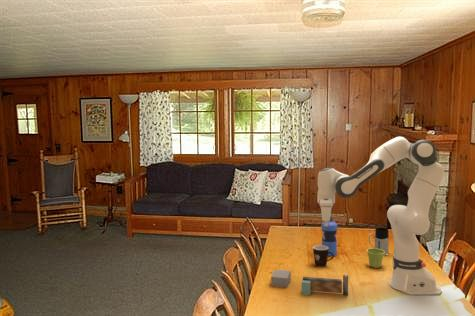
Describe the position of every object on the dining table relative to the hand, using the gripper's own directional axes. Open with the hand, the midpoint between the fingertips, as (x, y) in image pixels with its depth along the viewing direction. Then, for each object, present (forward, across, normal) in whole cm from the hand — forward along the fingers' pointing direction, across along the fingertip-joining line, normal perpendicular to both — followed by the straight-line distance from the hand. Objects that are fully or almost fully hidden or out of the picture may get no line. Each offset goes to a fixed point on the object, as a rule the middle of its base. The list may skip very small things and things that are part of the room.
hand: (326, 225), depth 198 cm
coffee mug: (+27, -15, -2) cm, 31 cm away
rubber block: (+27, +12, -22) cm, 37 cm away
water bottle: (+27, -35, +2) cm, 45 cm away
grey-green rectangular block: (+27, +23, -9) cm, 36 cm away
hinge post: (+27, +20, +9) cm, 35 cm away
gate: (+26, +20, -2) cm, 33 cm away
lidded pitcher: (+27, -41, +31) cm, 58 cm away
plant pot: (+27, -20, +27) cm, 43 cm away
